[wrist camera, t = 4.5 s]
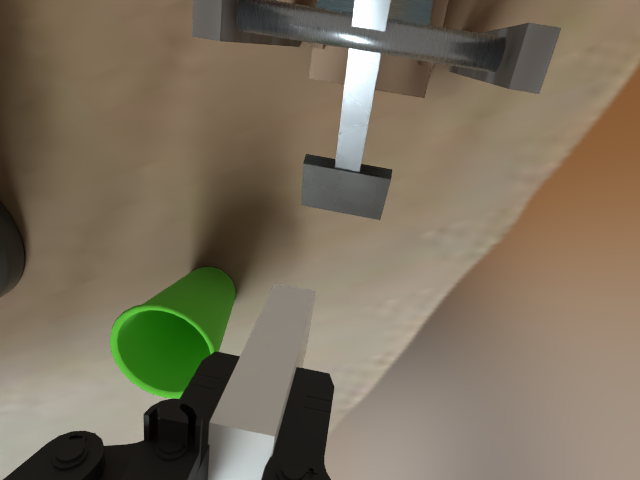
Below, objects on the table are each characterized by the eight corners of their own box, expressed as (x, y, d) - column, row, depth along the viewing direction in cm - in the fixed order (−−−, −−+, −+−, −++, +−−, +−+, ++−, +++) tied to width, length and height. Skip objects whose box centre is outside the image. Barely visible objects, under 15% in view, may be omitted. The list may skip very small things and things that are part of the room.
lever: (293, 93, 35) (249, 206, 28) (297, -290, 19) (201, -253, 12) (436, 118, 34) (428, 240, 27) (562, -260, 18) (621, -202, 11)
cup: (230, 235, 43) (182, 291, 33) (269, 313, 46) (236, 386, 36) (154, 263, 45) (87, 322, 35) (195, 334, 48) (145, 409, 38)
